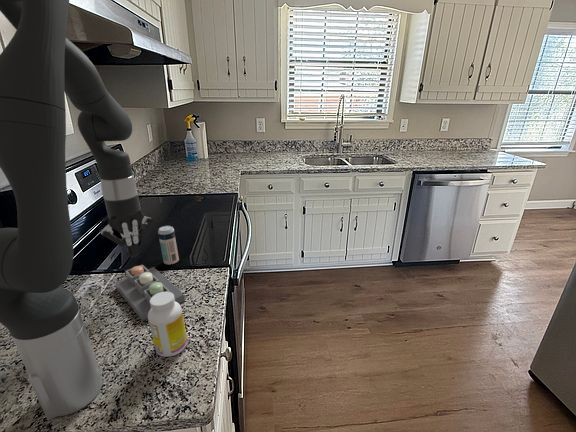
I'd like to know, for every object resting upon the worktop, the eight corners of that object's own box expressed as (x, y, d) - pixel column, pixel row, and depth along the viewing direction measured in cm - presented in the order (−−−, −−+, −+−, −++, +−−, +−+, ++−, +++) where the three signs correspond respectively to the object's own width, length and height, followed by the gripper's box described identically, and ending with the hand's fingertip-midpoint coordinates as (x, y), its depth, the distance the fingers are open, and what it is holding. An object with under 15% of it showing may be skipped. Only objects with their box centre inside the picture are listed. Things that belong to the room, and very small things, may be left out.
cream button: (143, 289, 82) (141, 280, 81) (139, 284, 84) (137, 275, 83) (155, 284, 84) (153, 275, 83) (150, 279, 86) (149, 270, 85)
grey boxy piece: (142, 321, 76) (139, 306, 74) (116, 287, 88) (112, 274, 86) (184, 300, 83) (182, 286, 81) (154, 272, 95) (152, 259, 94)
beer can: (181, 257, 103) (175, 224, 99) (176, 265, 99) (171, 231, 94) (166, 258, 103) (160, 225, 99) (161, 265, 99) (155, 231, 94)
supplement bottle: (191, 334, 72) (183, 287, 67) (183, 357, 65) (173, 308, 60) (161, 335, 71) (151, 288, 66) (150, 359, 65) (138, 309, 60)
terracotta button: (135, 281, 87) (133, 273, 86) (130, 277, 89) (128, 268, 88) (146, 277, 89) (144, 268, 88) (142, 272, 91) (140, 264, 90)
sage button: (153, 300, 78) (151, 291, 77) (148, 294, 80) (146, 285, 79) (166, 294, 80) (164, 285, 79) (160, 289, 82) (159, 280, 81)
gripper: (95, 204, 70) (112, 270, 77) (153, 191, 79) (164, 252, 85) (86, 197, 75) (102, 260, 82) (141, 185, 84) (152, 243, 90)
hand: (134, 255), depth 84 cm, fingers closed
